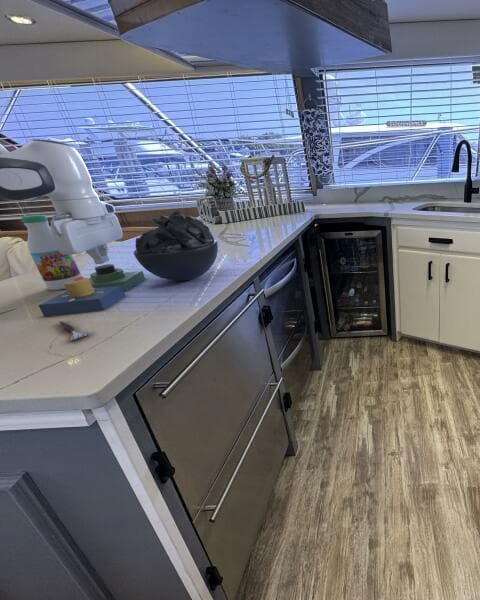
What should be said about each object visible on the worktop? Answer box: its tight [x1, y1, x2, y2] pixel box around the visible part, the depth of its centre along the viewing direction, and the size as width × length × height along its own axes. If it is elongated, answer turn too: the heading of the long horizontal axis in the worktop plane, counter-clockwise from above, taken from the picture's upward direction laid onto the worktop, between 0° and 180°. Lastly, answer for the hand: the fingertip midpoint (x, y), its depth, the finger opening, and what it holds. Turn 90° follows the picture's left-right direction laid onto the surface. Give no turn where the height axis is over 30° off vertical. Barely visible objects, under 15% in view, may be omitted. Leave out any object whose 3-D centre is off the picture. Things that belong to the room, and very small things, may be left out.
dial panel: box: [38, 286, 126, 318], centre depth 77 cm, size 12×9×3 cm
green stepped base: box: [88, 267, 146, 292], centre depth 89 cm, size 12×10×4 cm
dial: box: [63, 276, 94, 298], centre depth 76 cm, size 4×4×4 cm
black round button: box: [94, 263, 116, 275], centre depth 88 cm, size 4×4×2 cm
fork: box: [59, 320, 90, 341], centre depth 65 cm, size 3×16×2 cm, turn 57°
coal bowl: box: [133, 210, 219, 282], centre depth 91 cm, size 20×20×19 cm
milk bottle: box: [20, 214, 83, 291], centre depth 89 cm, size 8×8×20 cm
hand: (102, 262), depth 87 cm, fingers closed
